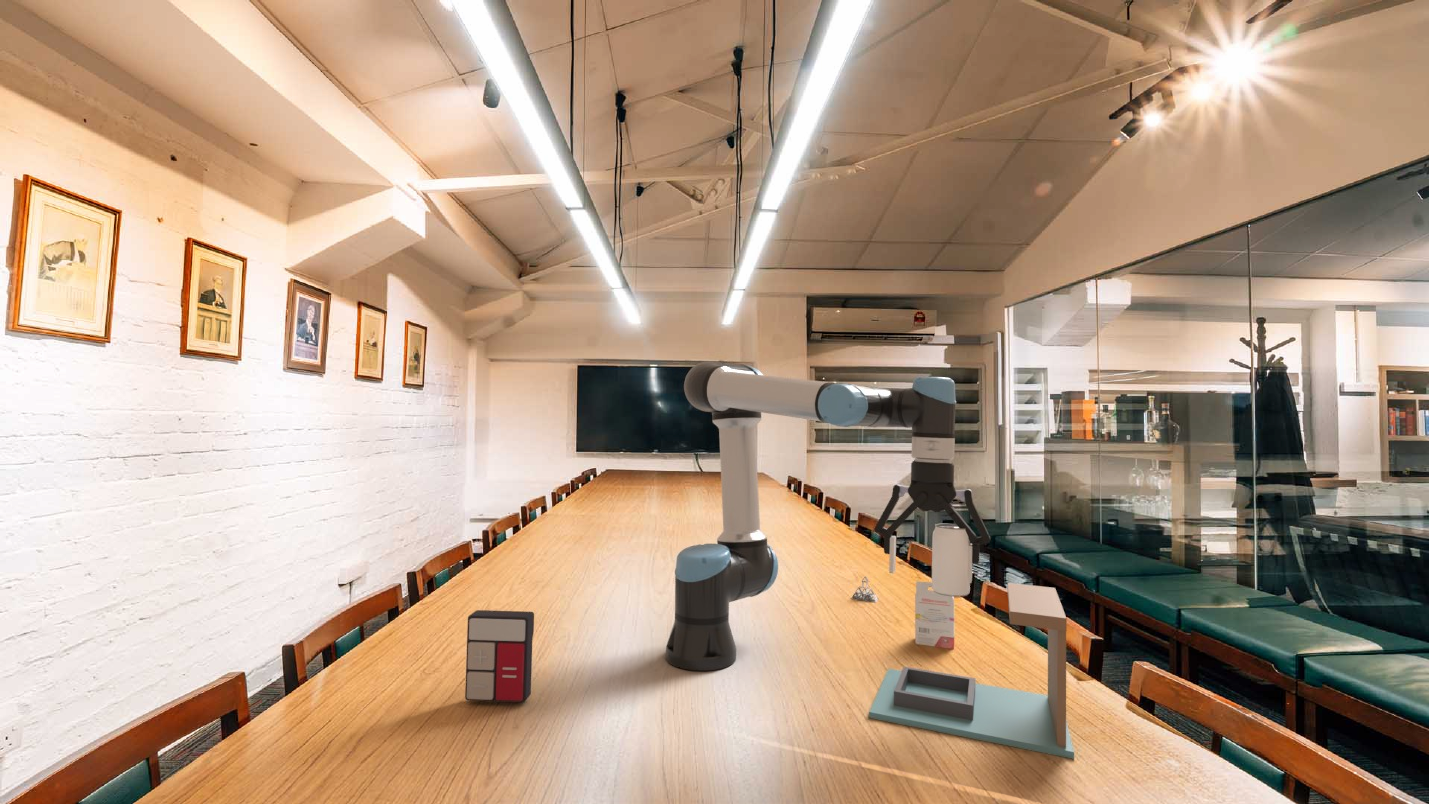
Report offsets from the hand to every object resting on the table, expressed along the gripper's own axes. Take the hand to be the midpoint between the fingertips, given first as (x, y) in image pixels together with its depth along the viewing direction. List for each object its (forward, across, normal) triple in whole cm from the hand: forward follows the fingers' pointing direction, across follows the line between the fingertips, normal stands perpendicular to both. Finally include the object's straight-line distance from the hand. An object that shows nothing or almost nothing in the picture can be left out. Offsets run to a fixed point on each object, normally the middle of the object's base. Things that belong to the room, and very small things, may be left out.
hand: (929, 576), depth 118 cm
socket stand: (+23, +2, 0) cm, 23 cm away
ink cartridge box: (+23, -1, +34) cm, 41 cm away
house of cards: (+24, -22, +65) cm, 72 cm away
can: (+3, +4, 0) cm, 4 cm away
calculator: (+24, -71, -33) cm, 82 cm away
